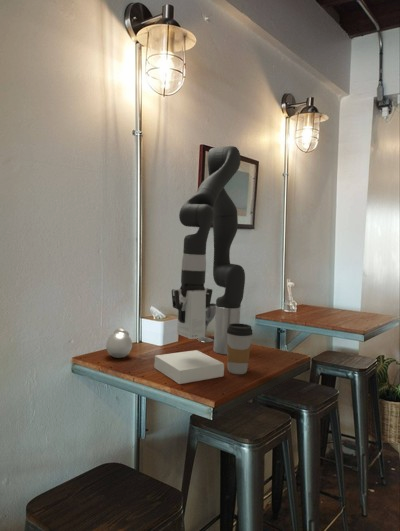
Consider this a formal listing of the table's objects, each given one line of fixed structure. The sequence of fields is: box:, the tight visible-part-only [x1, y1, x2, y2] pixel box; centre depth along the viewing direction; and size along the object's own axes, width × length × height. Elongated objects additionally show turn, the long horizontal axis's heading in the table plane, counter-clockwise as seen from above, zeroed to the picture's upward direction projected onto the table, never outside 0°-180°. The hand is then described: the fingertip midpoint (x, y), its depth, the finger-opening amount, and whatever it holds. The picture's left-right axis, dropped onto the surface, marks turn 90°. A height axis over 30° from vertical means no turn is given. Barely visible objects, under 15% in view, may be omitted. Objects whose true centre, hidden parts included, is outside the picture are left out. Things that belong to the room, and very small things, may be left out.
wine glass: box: [196, 302, 216, 343], centre depth 174 cm, size 8×8×15 cm
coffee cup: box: [226, 323, 254, 375], centre depth 137 cm, size 8×8×15 cm
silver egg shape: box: [105, 327, 133, 359], centre depth 145 cm, size 9×10×10 cm
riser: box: [154, 349, 225, 385], centre depth 134 cm, size 16×16×4 cm
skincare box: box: [176, 290, 206, 340], centre depth 133 cm, size 8×6×15 cm
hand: (190, 321), depth 133 cm, fingers closed on skincare box, 6 cm apart
